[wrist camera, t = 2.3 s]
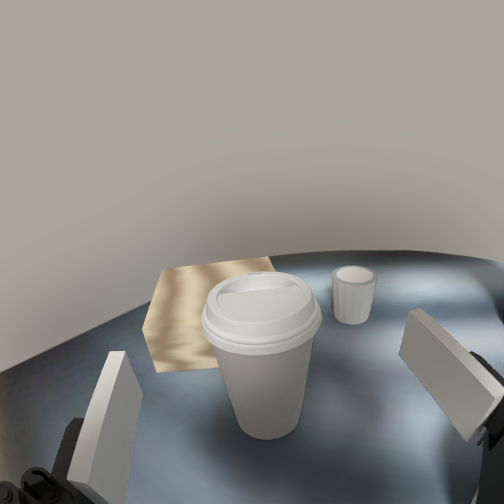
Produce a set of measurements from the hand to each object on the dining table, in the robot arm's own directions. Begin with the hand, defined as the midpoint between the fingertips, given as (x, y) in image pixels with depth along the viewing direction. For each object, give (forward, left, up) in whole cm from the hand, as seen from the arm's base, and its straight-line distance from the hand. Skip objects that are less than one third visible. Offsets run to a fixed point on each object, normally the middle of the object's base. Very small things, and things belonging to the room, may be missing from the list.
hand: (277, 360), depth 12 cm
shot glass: (-17, -26, -17) cm, 35 cm away
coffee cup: (-1, -10, -17) cm, 20 cm away
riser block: (+3, -28, -17) cm, 33 cm away
